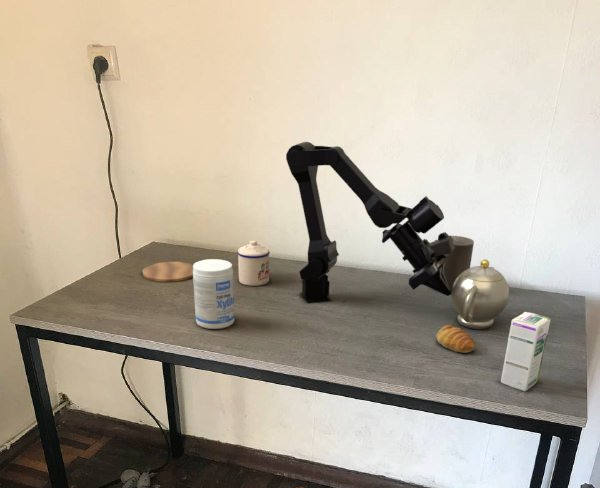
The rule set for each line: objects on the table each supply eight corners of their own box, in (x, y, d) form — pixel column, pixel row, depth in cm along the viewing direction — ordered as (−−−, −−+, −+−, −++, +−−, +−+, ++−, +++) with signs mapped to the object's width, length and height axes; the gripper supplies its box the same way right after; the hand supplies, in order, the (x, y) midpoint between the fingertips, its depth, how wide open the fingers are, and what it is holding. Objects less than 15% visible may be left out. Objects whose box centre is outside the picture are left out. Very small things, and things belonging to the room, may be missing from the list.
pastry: (481, 351, 146) (484, 335, 144) (459, 357, 142) (462, 342, 141) (453, 336, 152) (455, 321, 150) (431, 342, 149) (433, 327, 147)
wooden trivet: (145, 284, 179) (145, 281, 179) (140, 266, 193) (140, 263, 192) (201, 279, 184) (201, 276, 183) (193, 262, 197) (193, 259, 196)
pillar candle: (445, 295, 176) (452, 241, 168) (425, 284, 184) (432, 232, 176) (474, 291, 179) (482, 238, 172) (453, 280, 187) (461, 229, 180)
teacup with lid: (263, 288, 178) (263, 247, 172) (233, 284, 180) (232, 243, 175) (277, 274, 188) (277, 235, 182) (248, 271, 190) (247, 232, 185)
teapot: (458, 308, 168) (467, 247, 160) (509, 319, 162) (522, 256, 154) (434, 331, 154) (443, 266, 146) (489, 344, 149) (501, 277, 140)
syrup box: (525, 392, 129) (540, 326, 122) (498, 382, 132) (511, 318, 125) (537, 382, 133) (552, 318, 125) (511, 373, 136) (524, 310, 129)
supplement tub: (225, 332, 152) (222, 273, 144) (189, 327, 154) (184, 268, 147) (240, 318, 160) (239, 260, 152) (206, 313, 162) (202, 256, 155)
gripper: (427, 234, 143) (470, 288, 145) (444, 215, 158) (482, 264, 160) (391, 263, 150) (431, 314, 152) (410, 242, 165) (447, 289, 167)
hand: (449, 294), depth 158 cm, fingers closed, pressing on teapot
